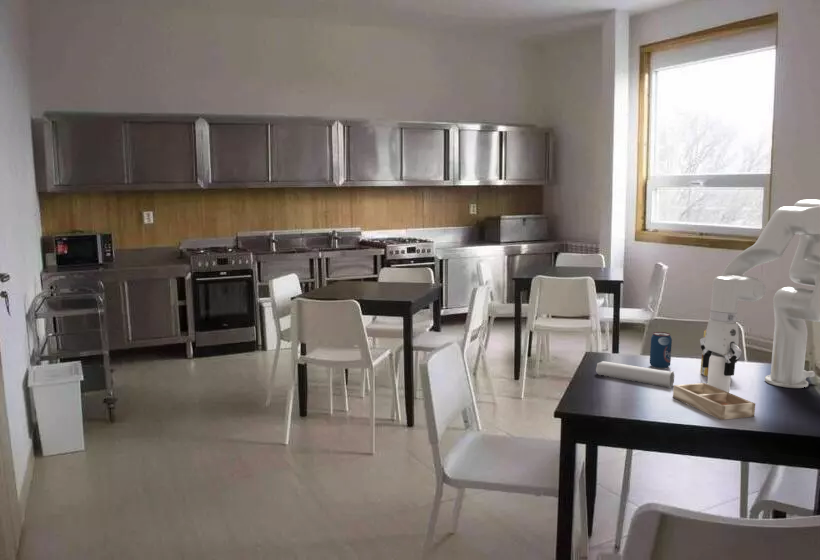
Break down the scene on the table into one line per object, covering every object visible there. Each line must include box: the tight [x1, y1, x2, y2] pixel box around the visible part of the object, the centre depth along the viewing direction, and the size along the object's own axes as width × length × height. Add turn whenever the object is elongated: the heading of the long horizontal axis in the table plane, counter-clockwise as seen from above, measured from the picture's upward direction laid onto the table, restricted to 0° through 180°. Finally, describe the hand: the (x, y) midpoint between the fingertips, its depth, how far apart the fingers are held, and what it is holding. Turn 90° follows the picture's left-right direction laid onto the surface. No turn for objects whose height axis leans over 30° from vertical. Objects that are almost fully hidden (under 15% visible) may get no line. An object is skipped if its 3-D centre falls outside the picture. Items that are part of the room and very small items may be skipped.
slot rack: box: [672, 382, 756, 421], centre depth 206 cm, size 11×21×4 cm, turn 16°
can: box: [706, 353, 732, 393], centre depth 220 cm, size 6×6×12 cm
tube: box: [595, 360, 675, 389], centre depth 233 cm, size 5×5×25 cm
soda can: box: [649, 331, 673, 370], centre depth 250 cm, size 7×7×12 cm
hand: (717, 371), depth 219 cm, fingers open, 9 cm apart
